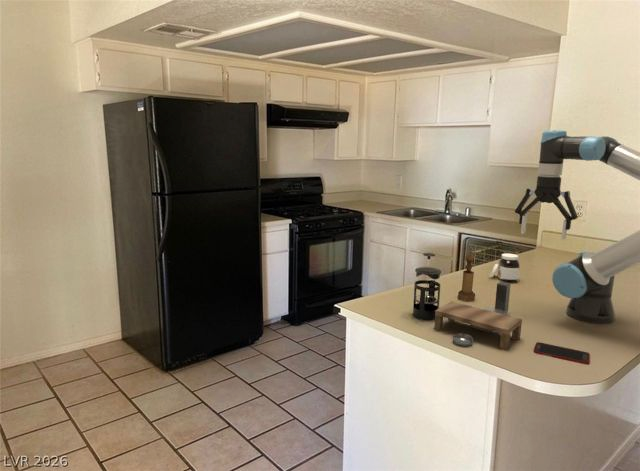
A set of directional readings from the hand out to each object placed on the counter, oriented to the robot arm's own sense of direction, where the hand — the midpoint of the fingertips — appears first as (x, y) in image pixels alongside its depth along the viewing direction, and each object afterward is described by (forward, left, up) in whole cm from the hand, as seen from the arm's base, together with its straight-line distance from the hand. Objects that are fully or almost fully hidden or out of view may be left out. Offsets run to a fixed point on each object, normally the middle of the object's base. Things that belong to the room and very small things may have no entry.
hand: (542, 236), depth 167 cm
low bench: (+8, +33, -29) cm, 44 cm away
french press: (+28, +30, -29) cm, 50 cm away
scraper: (+8, +19, -29) cm, 36 cm away
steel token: (+8, +43, -29) cm, 52 cm away
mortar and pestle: (+25, +3, -29) cm, 38 cm away
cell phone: (-17, +30, -29) cm, 45 cm away
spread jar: (+24, -33, -29) cm, 50 cm away
